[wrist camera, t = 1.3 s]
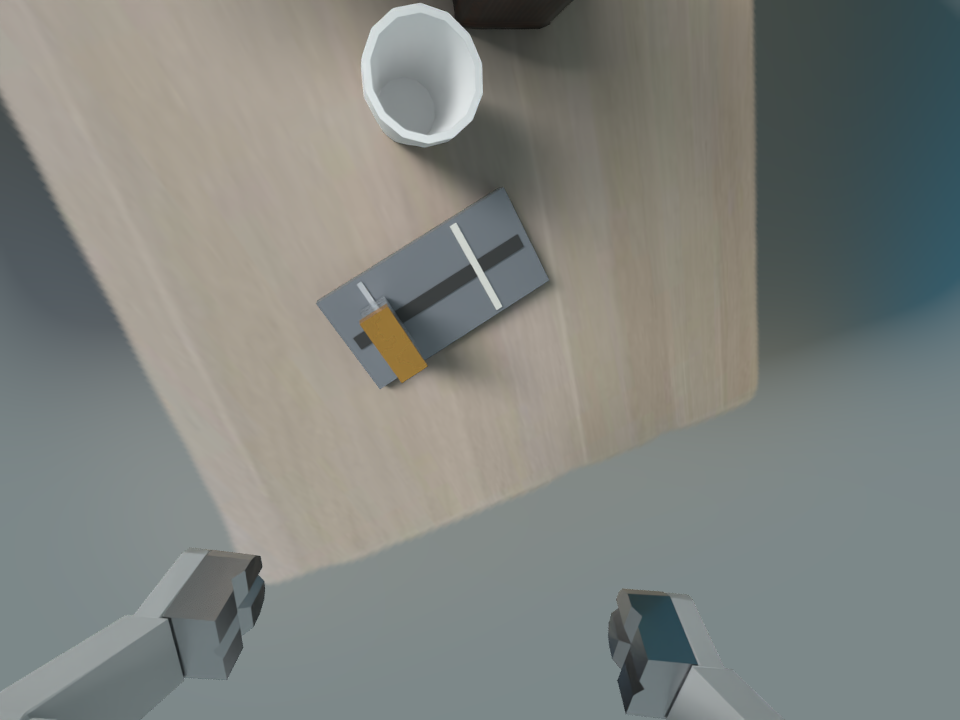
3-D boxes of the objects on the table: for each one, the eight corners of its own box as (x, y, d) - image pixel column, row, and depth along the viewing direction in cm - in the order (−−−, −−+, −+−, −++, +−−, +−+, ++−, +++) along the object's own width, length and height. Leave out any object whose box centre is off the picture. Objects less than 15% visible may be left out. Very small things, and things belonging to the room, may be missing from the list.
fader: (393, 357, 52) (401, 383, 44) (358, 306, 49) (359, 324, 41) (416, 343, 52) (427, 366, 44) (381, 291, 49) (387, 306, 41)
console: (378, 383, 55) (380, 390, 53) (317, 300, 50) (316, 304, 48) (542, 278, 56) (550, 280, 54) (498, 188, 52) (504, 187, 49)
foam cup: (403, 179, 49) (420, 168, 37) (338, 102, 45) (334, 62, 33) (467, 119, 49) (505, 88, 37) (408, 37, 45) (429, -27, 33)
